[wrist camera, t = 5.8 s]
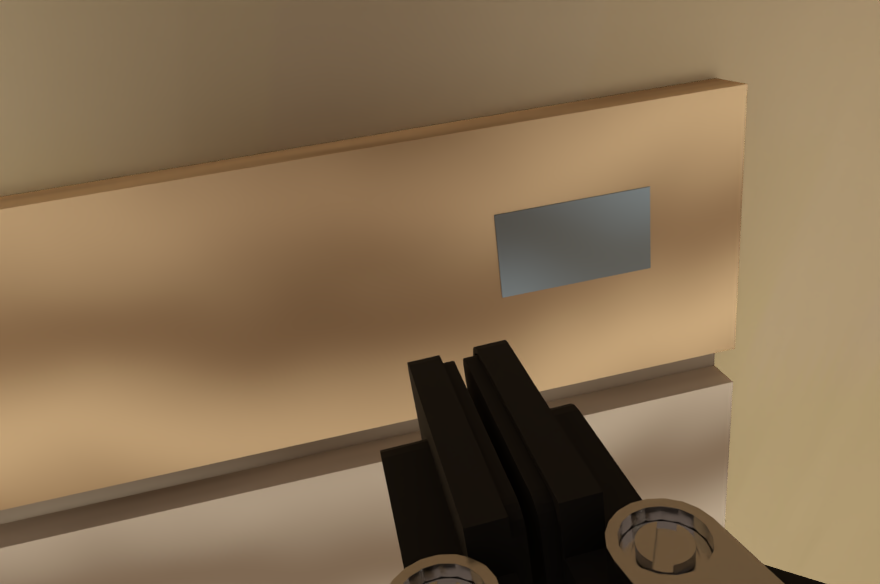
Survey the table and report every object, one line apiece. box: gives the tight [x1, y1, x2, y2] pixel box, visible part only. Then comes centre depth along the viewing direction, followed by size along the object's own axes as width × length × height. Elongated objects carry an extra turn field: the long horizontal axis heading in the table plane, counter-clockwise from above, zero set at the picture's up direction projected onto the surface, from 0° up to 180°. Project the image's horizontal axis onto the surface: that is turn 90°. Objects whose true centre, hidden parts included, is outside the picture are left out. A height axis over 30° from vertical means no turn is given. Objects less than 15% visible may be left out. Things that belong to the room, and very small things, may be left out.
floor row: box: [0, 353, 733, 584], centre depth 23 cm, size 7×24×2 cm, turn 97°
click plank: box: [0, 78, 747, 510], centre depth 19 cm, size 8×24×2 cm, turn 97°
